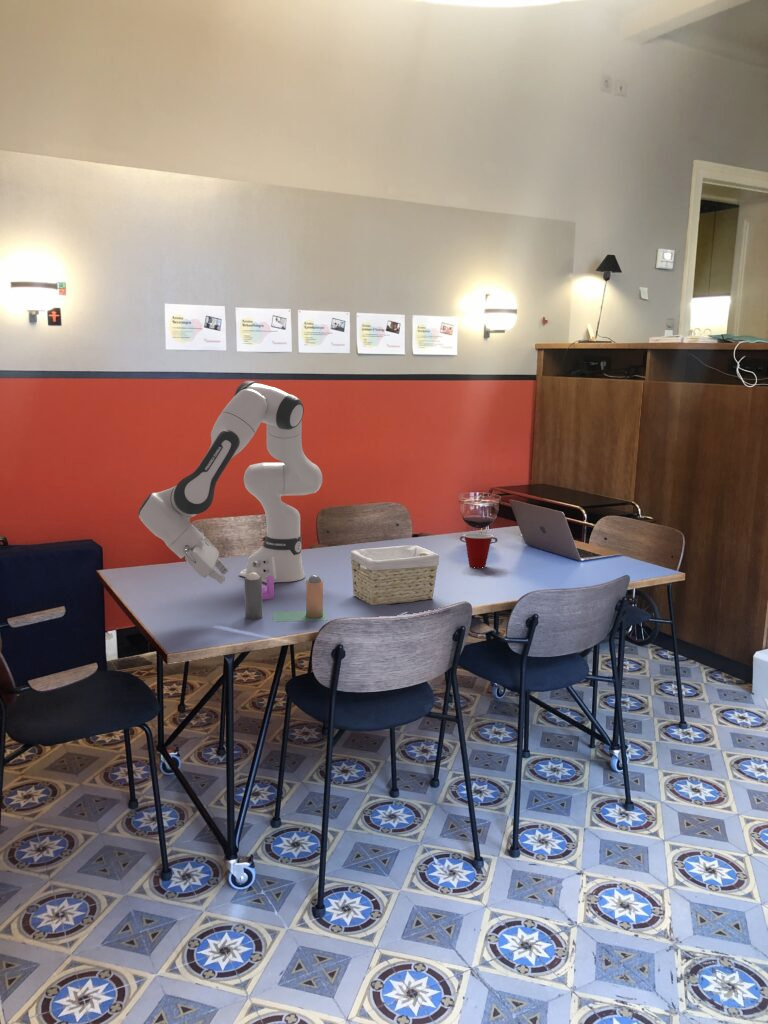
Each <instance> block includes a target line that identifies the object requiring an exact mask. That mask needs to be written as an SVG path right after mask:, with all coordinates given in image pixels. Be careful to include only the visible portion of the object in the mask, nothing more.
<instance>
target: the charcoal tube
mask: <svg viewBox="0 0 768 1024" xmlns="http://www.w3.org/2000/svg"><path fill="white" fill-rule="evenodd" d="M262 585H263V582H262V578H261V577H259V575H258V574H257V573H256V572H251V573H249V574H248V575H247V577H244V616H245V619H246V620H249V621H250V620H251V621H256V620H257V621H258V620H261V619H263V600H262Z"/></svg>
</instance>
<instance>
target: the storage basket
mask: <svg viewBox="0 0 768 1024" xmlns="http://www.w3.org/2000/svg"><path fill="white" fill-rule="evenodd" d="M350 559H351V560H350V562H351V571H352V574H351V575H352V590H353V591H352V594H353V595H354V596H355V597H356V598H358V599H359V600H361V601H364V602H366V603H367V604H370V605H371V606H375V605H394V604H398V603H413V602H416V601H425V600H432V599H434V591H435V587H436V585H435V584H436V580H437V578H436V577H437V572H438V571H437V570H438V567H439V562H440V560H439V559H440V554H438V553H435V551H432V550H429V549H427V548H424V547H421V546H419V545H397V546H386V547H372V548H371V547H370V548H362V549H353V550H351V551H350Z"/></svg>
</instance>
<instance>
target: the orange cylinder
mask: <svg viewBox="0 0 768 1024" xmlns="http://www.w3.org/2000/svg"><path fill="white" fill-rule="evenodd" d="M305 611H306V617H308V618H320V617H322V616H323V611H324V580H322V578H321V577H320V576H319V575H317V574H313V575H310V576H309V578H308V579H307V580H306V581H305Z"/></svg>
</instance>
